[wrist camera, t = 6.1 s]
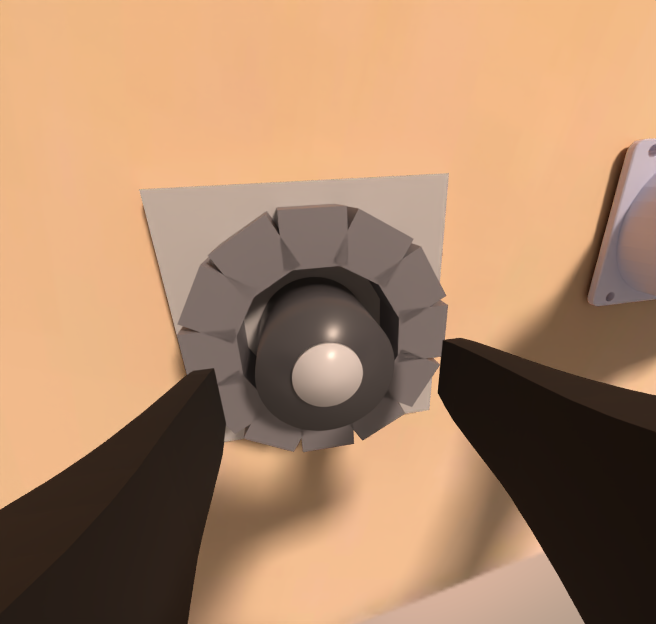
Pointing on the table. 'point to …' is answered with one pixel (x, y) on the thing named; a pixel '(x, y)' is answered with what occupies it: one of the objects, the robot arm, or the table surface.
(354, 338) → the grey cylinder
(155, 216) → the segmented ring plate
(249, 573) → the table surface
